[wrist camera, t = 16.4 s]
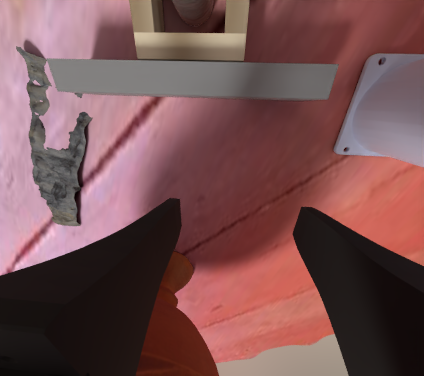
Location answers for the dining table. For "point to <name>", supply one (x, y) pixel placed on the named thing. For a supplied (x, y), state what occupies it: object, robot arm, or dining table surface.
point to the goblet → (174, 331)
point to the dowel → (194, 10)
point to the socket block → (188, 35)
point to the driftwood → (53, 159)
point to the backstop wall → (195, 79)
